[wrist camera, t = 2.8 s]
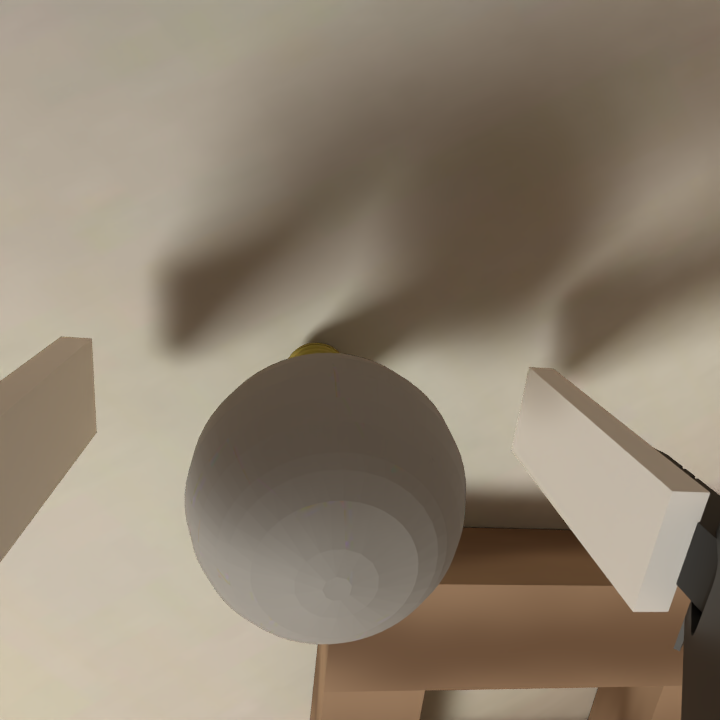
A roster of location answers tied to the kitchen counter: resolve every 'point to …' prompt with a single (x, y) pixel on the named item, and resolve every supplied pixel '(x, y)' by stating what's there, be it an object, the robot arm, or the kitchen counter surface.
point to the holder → (512, 637)
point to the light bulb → (325, 497)
